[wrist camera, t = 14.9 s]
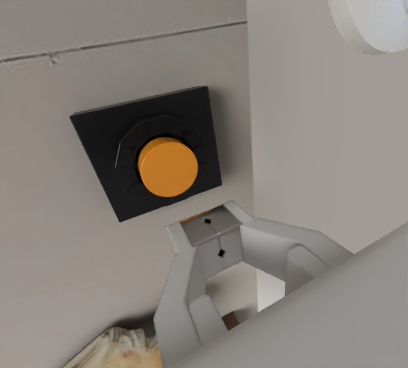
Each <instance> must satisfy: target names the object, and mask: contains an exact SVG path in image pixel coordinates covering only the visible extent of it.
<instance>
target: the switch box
mask: <svg viewBox="0 0 408 368" xmlns="http://www.w3.org/2000/svg"><path fill="white" fill-rule="evenodd" d="M70 120H71V122H72V124H73V126H74V128H75V130H76V132H77V134H78V136H79V139H80V141H81V143H82V145H83V147H84V149H85V151H86V153H87V155H88V157H89V159H90V162H91V164H92V166H93V168H94V170H95V172H96V174H97V176H98V178H99V180H100V182H101V185H102V187H103V189H104V191H105V193H106V195H107V197H108V199H109V201H110V203H111V205H112V208H113V210H114V212H115V214H116V216H117V218H118V220H119V222H123V221H125V220H128V219H131V218H133V217H136V216H139V215H142V214H144V213H147V212H150V211H153V210H155V209H158V208H161V207H163V206H168V205H171V204H174V203H176V202H179V201H182V200H185V199H187V198H189V197H191V196H193V195H196V194H199V193H202V192H204V191H207V190H210V189H212V188H215V187H218V186H221V185H222V181H221V175H220V168H219V161H218V154H217V147H216V140H215V134H214V127H213V120H212V113H211V106H210V99H209V93H208V87H207V86H197V87H192V88H188V89H183V90H178V91H174V92H169V93H164V94H160V95H155V96H151V97H146V98H141V99H137V100H132V101H128V102H123V103H118V104H114V105H109V106H104V107H100V108H95V109H91V110H86V111H81V112H77V113H74V114H73V115H71V116H70ZM161 137H170V138H174V139H177V140H179V141H180V142H182V143H183V144H184V145H185V146H187V147H188V148H189V149H190V150H191V151H192V152H193V153H194V155H195V157H196V159H197V164H198V171H197V176H196V178H195V180H194V182H193V184H192V185H191V186H190V187H189V188H188V189H187V190H186V191H184V192H183V193H181V194H179V195H176V196H171V197H163V196H159V195H156V194H154V193H152V192H151V191H150V190H148V189H147V187H146V186H145V185H144V183H143V181H142V178H141V175H140V172H139V169H138V159H139V155H140V153H141V151H142V149H143V148H144V147H145V145H147V144H148V143H149V142H150V141H152V140H154V139H157V138H161Z"/></svg>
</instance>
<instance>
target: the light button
mask: <svg viewBox="0 0 408 368" xmlns="http://www.w3.org/2000/svg"><path fill="white" fill-rule="evenodd" d="M138 169H139V172H140V175H141V178H142V181H143V183H144V185H145V186H146V187H147V189H148V190H150V191H151V192H152V193H154V194H156V195H159V196H163V197H171V196H176V195H179V194H181V193H183V192H184V191H186V190H187V189H188V188H189V187H190V186H191V185H192V184H193V182H194V180H195V178H196V176H197V171H198V164H197V159H196V157H195V155H194V153H193V152H192V151H191V150H190V149H189V148H188V147H187V146H185V145H184V144H183V143H182V142H180V141H179V140H177V139H174V138H170V137H161V138H157V139H154V140H152V141H150V142H149V143H148V144H147V145H145V147H144V148H143V149H142V151H141V153H140V155H139V159H138Z"/></svg>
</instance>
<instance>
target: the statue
mask: <svg viewBox="0 0 408 368" xmlns="http://www.w3.org/2000/svg"><path fill="white" fill-rule="evenodd" d="M63 368H163V366H162V361H161V355H160V350H159V345H158V340H157V335H156V330H155V326H154V329H153V336H152V337H150V338H148V337H146V336H145V334H144V331H143V329H136V330H129V331H128V329H125V328H121V327H111V328H108V329H107V330H106V331H105V332H104V333H103V334H101V335H100V336H99V337H97V338H96V339H95V340H94V341H93V342H92V343H91V344H89V345H88V346H87V347H86V348H85V349H84V350H83V351H81V352H80V353H79V354H78V355H77V356H75V357H74V358H73V359H72V360H71V361H70V362H69V363H67V364H66V365H65V366H64V367H63Z"/></svg>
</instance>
